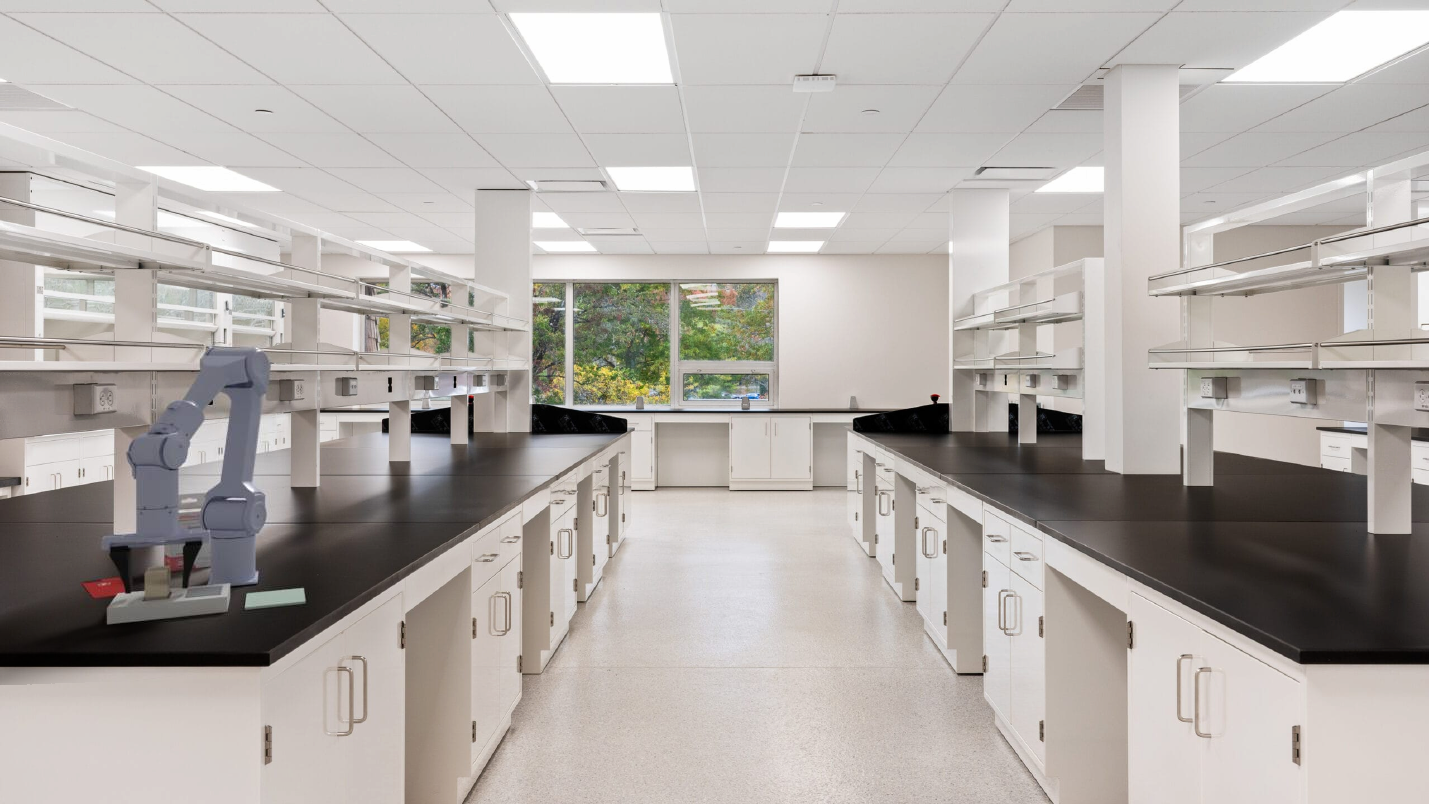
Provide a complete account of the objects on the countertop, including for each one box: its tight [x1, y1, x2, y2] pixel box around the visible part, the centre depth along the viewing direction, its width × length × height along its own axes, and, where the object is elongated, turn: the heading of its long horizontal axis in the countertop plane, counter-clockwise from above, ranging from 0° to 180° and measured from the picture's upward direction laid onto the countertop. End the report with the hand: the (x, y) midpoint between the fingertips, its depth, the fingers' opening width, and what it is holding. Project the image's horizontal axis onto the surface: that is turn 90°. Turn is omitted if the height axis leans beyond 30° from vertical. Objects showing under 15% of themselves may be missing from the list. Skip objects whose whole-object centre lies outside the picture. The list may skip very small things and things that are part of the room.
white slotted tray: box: [106, 583, 231, 625], centre depth 134 cm, size 10×16×3 cm, turn 118°
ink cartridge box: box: [163, 492, 211, 572], centre depth 165 cm, size 9×5×15 cm, turn 137°
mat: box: [244, 587, 306, 611], centre depth 141 cm, size 10×9×1 cm
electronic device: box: [81, 577, 134, 599], centre depth 148 cm, size 6×1×15 cm
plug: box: [144, 565, 171, 601], centre depth 133 cm, size 4×3×7 cm, turn 28°
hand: (157, 589), depth 133 cm, fingers open, 7 cm apart
